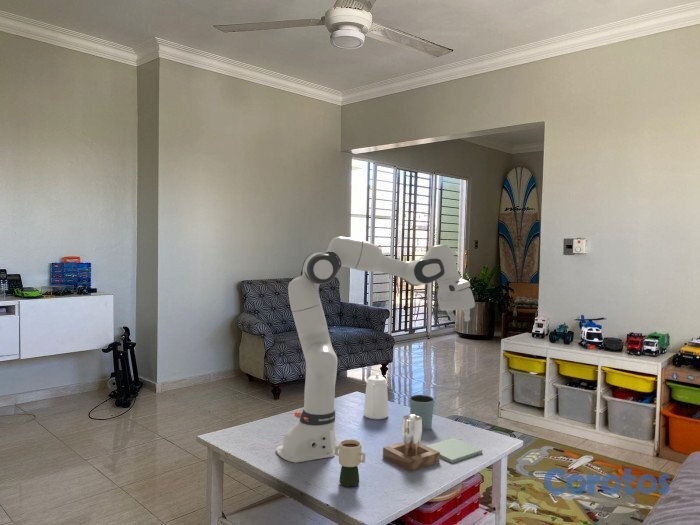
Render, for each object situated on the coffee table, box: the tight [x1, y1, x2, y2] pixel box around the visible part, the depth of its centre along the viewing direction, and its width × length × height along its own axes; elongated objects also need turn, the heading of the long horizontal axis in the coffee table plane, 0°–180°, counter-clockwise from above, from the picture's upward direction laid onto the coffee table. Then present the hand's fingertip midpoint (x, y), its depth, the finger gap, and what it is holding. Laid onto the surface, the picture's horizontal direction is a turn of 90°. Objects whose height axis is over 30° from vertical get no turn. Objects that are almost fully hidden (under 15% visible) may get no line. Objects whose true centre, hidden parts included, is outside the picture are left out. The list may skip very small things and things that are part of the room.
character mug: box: [334, 438, 366, 487], centre depth 165 cm, size 11×7×13 cm, turn 59°
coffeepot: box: [363, 372, 389, 420], centre depth 228 cm, size 11×25×19 cm, turn 168°
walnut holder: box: [382, 441, 441, 473], centre depth 184 cm, size 14×14×4 cm
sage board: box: [426, 437, 483, 464], centre depth 193 cm, size 16×14×1 cm
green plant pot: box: [409, 394, 435, 431], centre depth 217 cm, size 10×10×12 cm
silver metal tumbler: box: [401, 414, 423, 457], centre depth 184 cm, size 7×7×15 cm
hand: (460, 320), depth 198 cm, fingers open, 8 cm apart
